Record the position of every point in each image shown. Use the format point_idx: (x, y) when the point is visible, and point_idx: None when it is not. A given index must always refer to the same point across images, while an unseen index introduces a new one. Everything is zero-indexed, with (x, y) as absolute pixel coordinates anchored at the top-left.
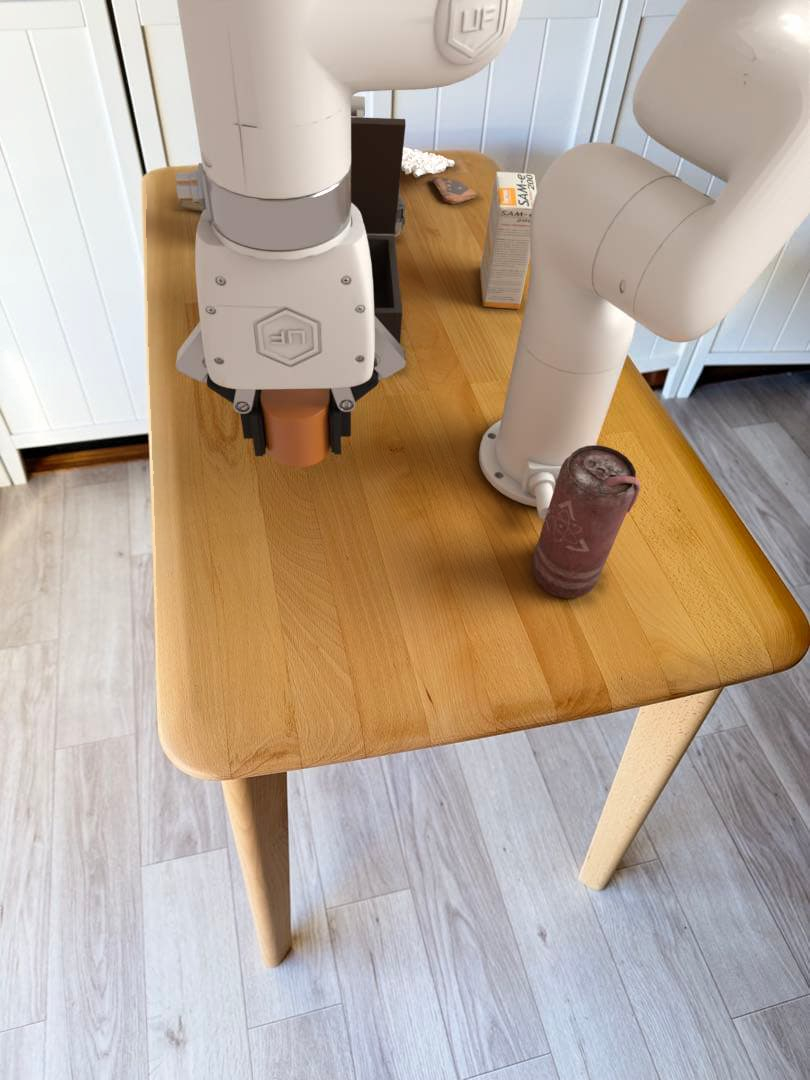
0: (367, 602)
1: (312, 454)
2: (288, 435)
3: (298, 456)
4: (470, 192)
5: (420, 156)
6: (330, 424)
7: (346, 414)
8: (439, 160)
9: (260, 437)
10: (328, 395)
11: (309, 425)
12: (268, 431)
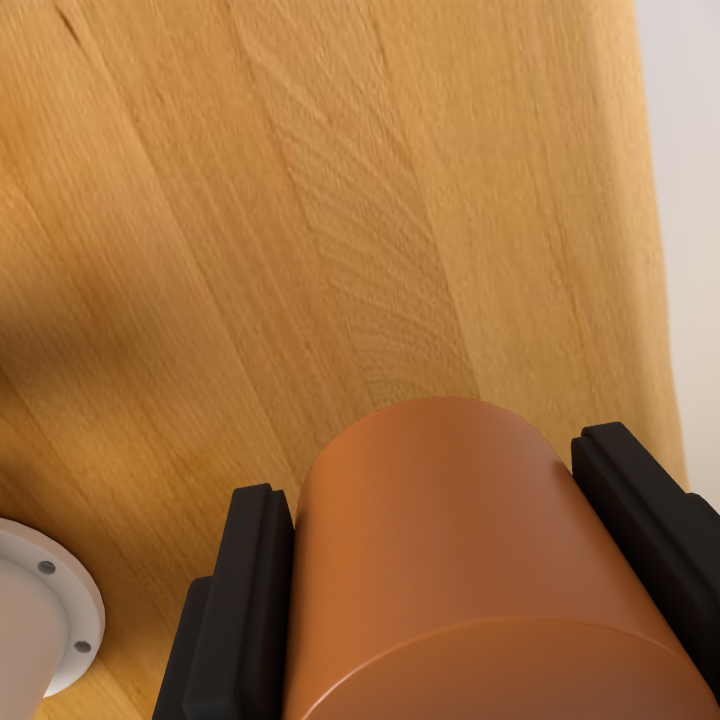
0: (248, 247)
1: (357, 457)
2: (497, 517)
3: (422, 434)
4: None
5: None
6: (264, 625)
7: (182, 702)
8: None
9: (636, 497)
10: None
11: (376, 598)
12: (605, 534)
